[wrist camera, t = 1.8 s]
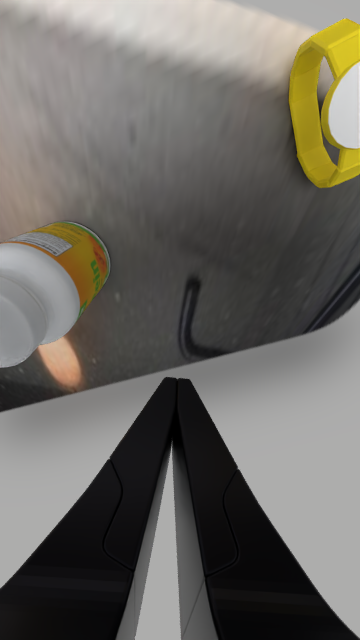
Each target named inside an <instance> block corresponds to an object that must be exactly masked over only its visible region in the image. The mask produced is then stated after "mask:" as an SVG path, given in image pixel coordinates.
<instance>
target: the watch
mask: <svg viewBox="0 0 360 640" xmlns="http://www.w3.org/2000/svg"><path fill="white" fill-rule="evenodd" d="M323 56H325V57H326V59H327V62H328V64H329V67H330V69H331V72H332V74H333V77H334V79H335V81H334V82H333V83H332V85H331V87H330V89H329V91H328V93H327V94H326V97H325V100H324V103H323V107H322V111H321V124H320V116H319V108H318V100H317V92H316V91H317V85H318V78H319V71H320V65H321V61H322V59H323ZM289 106H290V112H291V118H292V123H293V129H294V135H295V141H296V147H297V153H298V154H297V157H298V160H299V162H300V164H301V166H302V168H303V170H304V172H305V175H307V178H308V179H310V180H311V181H312V182H313V183H314V184H315V185H316V186H317V187H319V188H326V187H332V186H334V185H337V184H339V183H342V182H344V181H346V180H349V179H351V178H354V177H356V176H357V175H359V174H360V25H359V24H357V23H355V22H353V21H351V20H349V19H342V20H340V21H339V22H337V23H335V24H333V25H331V26H329V27H328V28H326V29H324V30H322V31H320V32H318V33H316V34H315V35H313V36H311V37H310V38H309V39H308V40H306V41H305V42H304V43H303V44H302V45H301V46H300V47H299V49H298V51H297V54H296V57H295V60H294V64H293V67H292V70H291V76H290V86H289ZM321 126H322V130H323V134H324V136H325V138H326V139H327V140H328V142H329V143H330V144H331V145H333V146H335V147H337V148H339V149H340V154H339V160H338V165H337V166H336V165H335V164H333V163H332V161H331V159H330V157H329V155H328V153H327V151H326V149H325V147H324V145H323V140H322V132H321Z"/></svg>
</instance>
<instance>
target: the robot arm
mask: <svg viewBox="0 0 360 640" xmlns="http://www.w3.org/2000/svg"><path fill="white" fill-rule="evenodd" d="M171 446H172V460H173V481H174V500H175V522H176V543H177V563H178V584H179V604H180V626H181V640H360V638H359V637H358V636H357V635H356V634H355V633H353V632H352V631H351V630H350V629H349V628H348V627H347V625H345V624H344V622H343V621H342V620H341V619H340V618H339V617H338V616H337V615H336V613H335V612H334V611H333V610H332V609H331V608H330V606H329V605H328V604H327V602H326V601H325V600H324V599H323V597H322V596H321V595H320V593H319V592H318V590H317V589H316V588H315V586H314V585H313V583H312V582H311V580H310V579H309V578H308V576H307V575H306V573H305V572H304V570H303V569H302V567H301V566H300V564H299V563H298V561H297V560H296V558H295V557H294V555H293V554H292V552H291V551H290V550H289V548H288V547H287V545H286V544H285V542H284V541H283V539H282V538H281V536H280V535H279V533H278V532H277V530H276V529H275V528H274V526H273V525H272V523H271V521H270V520H269V518H268V517H267V515H266V514H265V512H264V511H263V509H262V508H261V506H260V505H259V503H258V501H257V500H256V498H255V496H254V495H253V493H252V491H251V489H250V488H249V486H248V484H247V483H246V481H245V479H244V477H243V475H242V473H241V472H240V470H239V469H238V466H237V464H236V463H235V461H234V459H233V457H232V455H231V454H230V452H229V450H228V448H227V446H226V445H225V443H224V441H223V439H222V437H221V435H220V434H219V432H218V430H217V428H216V426H215V424H214V422H213V421H212V419H211V417H210V415H209V413H208V411H207V410H206V408H205V406H204V404H203V402H202V400H201V399H200V397H199V395H198V393H197V392H196V390H195V388H194V386H193V384H192V382H191V381H190V380H189V379H183V378H179V379H178V380H177V379H176V378H172V377H166V378H164V379H163V381H162V382H161V383H160V385H159V386H158V388H157V389H156V391H155V392H154V394H153V395H152V396H151V398H150V400H149V401H148V402H147V404H146V405H145V407H144V408H143V410H142V411H141V413H140V414H139V415H138V417H137V418H136V420H135V421H134V423H133V424H132V426H131V427H130V428H129V430H128V431H127V433H126V434H125V436H124V437H123V439H122V440H121V441H120V443H119V444H118V446H117V447H116V449H115V451H114V452H113V453H112V455H111V456H110V459H108V460H107V462H106V463H105V464H104V466H103V467H102V469H101V470H100V472H99V473H98V474H97V476H96V477H95V479H94V480H93V481H92V483H91V484H90V485H89V487H88V488H87V489H86V491H85V492H84V493H83V494H82V496H81V497H80V498H79V499H78V500H77V502H76V503H75V504H74V505H73V507H72V508H71V509H70V510H69V511H68V513H67V514H66V515H65V516H64V517H63V518H62V520H61V521H60V522H59V523H58V524H57V525H56V527H55V528H54V529H53V530H52V531H51V532H50V534H49V535H48V536H47V537H46V538H45V539H44V541H43V542H42V543H41V544H40V545H39V546H38V548H37V549H36V550H35V551H34V552H33V553H32V555H31V556H30V557H29V558H28V559H27V560H26V562H25V563H24V564H23V565H22V566H21V567H20V569H19V570H18V571H17V572H16V573H15V574H14V575H13V576H12V577H11V578H10V579H9V580H8V581H7V583H5V585H4V586H2V587H1V588H0V640H135V635H136V630H137V625H138V619H139V615H140V609H141V604H142V599H143V593H144V588H145V583H146V577H147V572H148V567H149V562H150V557H151V551H152V547H153V541H154V536H155V530H156V526H157V520H158V515H159V510H160V505H161V499H162V494H163V489H164V483H165V478H166V473H167V468H168V463H169V458H170V452H171Z"/></svg>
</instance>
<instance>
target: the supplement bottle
mask: <svg viewBox="0 0 360 640" xmlns="http://www.w3.org/2000/svg"><path fill="white" fill-rule="evenodd" d="M109 273H110V258H109V254H108V251H107V249H106V247H105V245H104V244H103V242H102V241H101V239H100V238H99V237H98V236H97V235H96V234H95V233H94V232H92V231H91V230H90V229H88V228H86V227H84V226H82V225H80V224H77V223H74V222H67V221H63V222H56V223H52V224H49V225H46V226H43V227H41V228H38V229H36V230H33V231H30V232H27V233H25V234H22V235H20V236H17V237H14V238H12V239H9V240H7V241H4V242H1V243H0V368H1V367H10V366H14V365H17V364H19V363H21V362H23V361H24V360H26V359H27V358H28V357H29V356H30V355H31V354H32V352H33V351H34V350H35V349H36V348H37V347H38V346H39V345H43V344H48V343H51V342H54V341H56V340H58V339H59V338H61V337H63V336H64V335H65V334H66V333H67V332H68V331H69V330H70V329H71V328H72V327H73V325H74V324H75V323H76V321H77V320H78V319H79V317H80V316H81V315H82V313H83V312H84V311H85V309H86V308H87V306H88V305H89V304H90V302H91V301H92V300H93V299H94V297H95V296H96V295H97V293H98V292H99V291H100V289H101V288H102V287H103V286H104V284H105V282H106V281H107V279H108V276H109Z"/></svg>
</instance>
